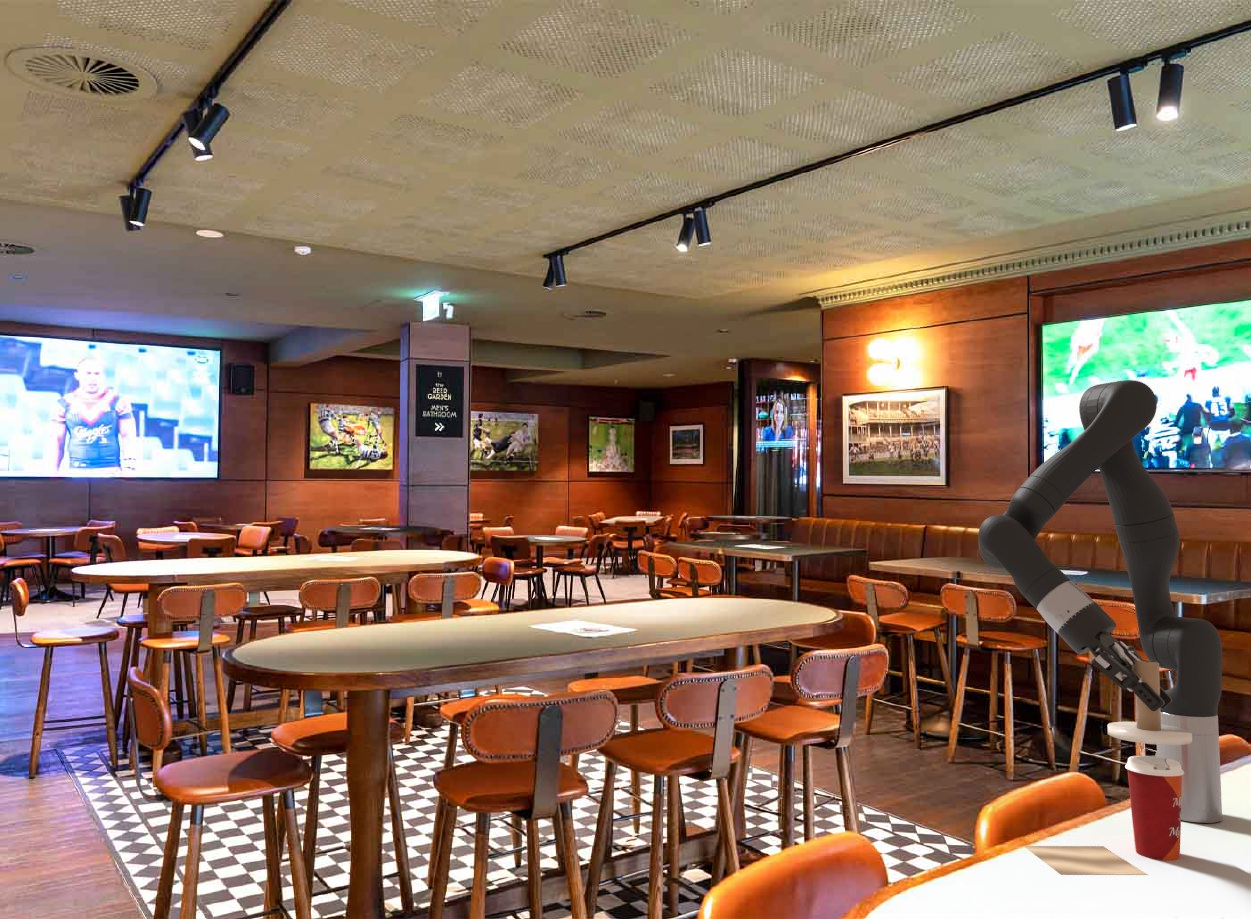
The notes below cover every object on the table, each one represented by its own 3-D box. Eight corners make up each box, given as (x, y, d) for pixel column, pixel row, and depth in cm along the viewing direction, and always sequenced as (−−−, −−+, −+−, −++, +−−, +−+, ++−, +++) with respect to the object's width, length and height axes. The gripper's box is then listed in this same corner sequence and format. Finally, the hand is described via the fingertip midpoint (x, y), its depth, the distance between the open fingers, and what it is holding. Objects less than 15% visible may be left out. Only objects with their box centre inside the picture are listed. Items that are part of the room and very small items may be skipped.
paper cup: (1196, 869, 135) (1192, 768, 136) (1137, 865, 137) (1134, 765, 138) (1176, 851, 143) (1172, 755, 144) (1120, 847, 144) (1117, 753, 145)
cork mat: (1023, 850, 143) (1023, 846, 143) (1103, 850, 143) (1103, 846, 143) (1060, 878, 131) (1060, 874, 131) (1147, 879, 131) (1147, 874, 131)
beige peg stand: (1093, 729, 147) (1091, 656, 148) (1164, 730, 147) (1162, 657, 148) (1132, 744, 136) (1130, 666, 137) (1208, 745, 136) (1206, 667, 137)
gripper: (1076, 602, 143) (1169, 695, 134) (1108, 599, 153) (1196, 685, 144) (1041, 635, 146) (1129, 728, 137) (1074, 630, 156) (1158, 716, 147)
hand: (1163, 705), depth 140 cm, fingers closed on beige peg stand, 3 cm apart
